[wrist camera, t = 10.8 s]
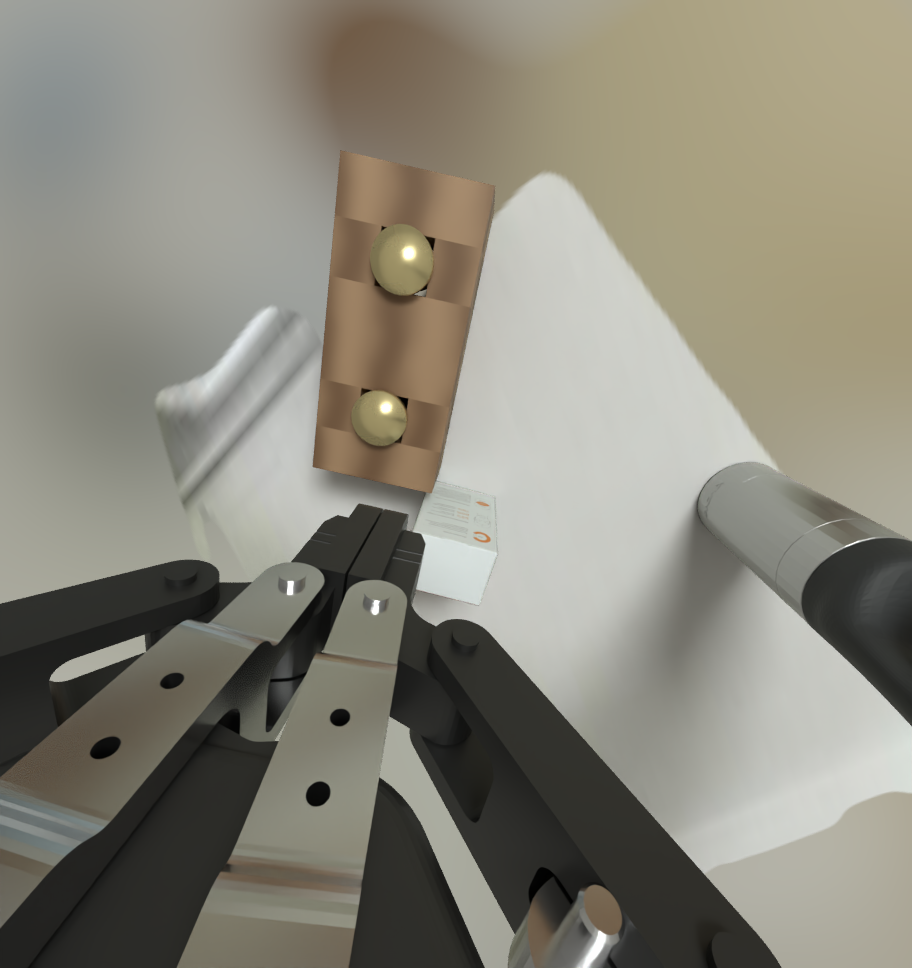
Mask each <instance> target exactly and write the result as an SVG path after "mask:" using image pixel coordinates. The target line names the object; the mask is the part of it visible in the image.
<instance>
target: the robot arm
mask: <svg viewBox="0 0 912 968" xmlns="http://www.w3.org/2000/svg"><path fill="white" fill-rule="evenodd" d="M698 513H699V517H700V519H701V521H702V523H703V524H704V525H705V526H706V528H707V529H708V530H709V531H711V532H712V533H713V534H714V535H715V536H716V537H717V538H718V539H719V540H720V541H721V542H722V543H723V544H724V545H725V546H726V547H727V548H728V549H729V550H730V551H731V552H733V553H734V554H735V555H736V556H737V557H738V558H739V559H740V560H741V561H742V562H743V563H744V564H745V565H746V566H747V567H748V568H749V569H751V570H752V571H753V572H754V573H755V574H756V575H757V576H758V577H759V578H760V579H761V580H762V581H763V582H764V583H765V584H766V585H767V586H768V587H770V588H771V589H772V590H773V591H774V592H775V593H776V594H777V595H778V596H779V597H780V598H781V599H782V600H783V601H784V602H785V603H786V604H788V605H789V606H790V607H791V608H792V609H793V610H794V611H795V612H796V613H797V614H798V615H799V616H800V617H802V618H803V619H804V620H805V621H806V622H807V623H808V624H809V625H810V626H811V627H812V628H813V629H814V630H815V631H816V632H817V633H818V634H819V635H820V636H822V637H823V638H824V639H825V640H826V641H827V642H828V643H829V644H830V645H832V646H833V647H834V648H835V649H836V650H837V651H838V652H839V653H840V654H841V655H842V656H843V657H844V658H845V659H847V660H848V661H849V662H850V663H851V664H852V665H853V666H854V667H855V668H856V669H857V670H858V671H859V672H860V673H861V674H862V675H863V676H864V677H865V678H866V679H867V680H868V681H869V682H870V683H871V684H872V685H873V686H874V687H875V688H876V689H877V690H878V691H879V692H880V693H881V694H882V695H883V696H884V697H885V698H886V699H887V700H888V701H889V702H890V704H891V705H892V706H893V707H894V708H895V709H896V710H897V711H898V712H899V713H900V714H901V715H902V716H903V717H904V718H905V719H906V721H907V722H908V723H909V724H910V725H911V726H912V541H911V540H909V539H908V538H905V537H904V536H902V535H900V534H898V533H896V532H894V531H892V530H890V529H888V528H886V527H884V526H882V525H881V524H878V523H876V522H874V521H872V520H870V519H869V518H867V517H865V516H863V515H861V514H859V513H857V512H855V511H853V510H851V509H849V508H847V507H845V506H843V505H841V504H840V503H838V502H836V501H834V500H832V499H830V498H828V497H826V496H824V495H822V494H820V493H818V492H817V491H815V490H812V489H811V488H809V487H807V486H805V485H803V484H801V483H799V482H797V481H795V480H793V479H792V478H790V477H788V476H786V475H784V474H782V473H780V472H778V471H776V470H774V469H772V468H770V467H768V466H766V465H764V464H760V463H750V462H746V463H740V464H735V465H733V466H730V467H727V468H725V469H724V470H722V471H720V472H718V473H717V474H716V475H715V476H713V477H712V478H711V479H710V480H709V481H708V483H707V484H706V485H705V487H704V488H703V490H702V492H701V494H700V497H699V501H698ZM407 523H408V514H404V513H400V512H395V511H391V510H386V509H384V510H383V509H382V508H377V507H373V506H368V505H364V504H358V505H357V507H356V508H355V510H354V511H353V512H352V514H351V515H350V517H349V518H348V517H343V516H339V515H337V516H335V517H333V518H331V519H329V520H327V521H325V522H324V523H323V524H322V525H321V526H320V527H319V529H318V530H317V532H315V534H314V535H313V536H312V537H311V539H310V540H309V541H308V542H307V543H306V544H305V546H304V547H303V548H302V549H301V551H300V552H299V553H298V554H297V555H296V557H295V558H294V559H293V560H292V561H291V562H289V563H282V564H278V565H275V566H272V567H270V568H268V569H267V570H265V571H264V572H263V573H262V574H261V575H260V576H259V577H258V578H256V579H255V580H254V581H253V582H248V583H220V582H219V571H218V570H217V568H216V567H214V566H213V565H212V564H210V563H207V562H204V561H199V560H179V561H173V562H168V563H164V564H160V565H156V566H152V567H148V568H144V569H140V570H136V571H132V572H128V573H124V574H120V575H116V576H111V577H107V578H103V579H99V580H95V581H91V582H87V583H83V584H79V585H75V586H71V587H67V588H63V589H59V590H55V591H51V592H47V593H43V594H38V595H34V596H30V597H26V598H22V599H18V600H14V601H10V602H6V603H2V604H0V968H485V967H484V965H483V963H482V961H481V959H480V956H479V954H478V952H477V949H476V947H475V945H474V943H473V940H472V938H471V936H470V934H469V931H468V929H467V927H466V925H465V922H464V920H463V918H462V915H461V913H460V911H459V909H458V906H457V904H456V902H455V900H454V897H453V895H452V893H451V890H450V888H449V886H448V884H447V881H446V879H445V877H444V874H443V872H442V870H441V868H440V866H439V863H438V861H437V859H436V856H435V854H434V852H433V849H432V847H431V845H430V843H429V840H428V838H427V836H426V833H425V831H424V829H423V827H422V825H421V823H420V821H419V820H418V818H417V817H416V815H415V813H414V812H413V810H412V809H411V807H410V806H409V805H408V803H407V802H406V801H405V800H404V799H403V797H402V796H401V795H400V794H399V793H398V792H397V791H396V790H395V789H394V788H392V786H390V785H389V784H388V783H386V782H385V781H384V780H382V779H381V778H380V777H379V775H380V769H381V763H382V757H383V751H384V745H385V739H386V732H387V727H388V720H389V716H390V717H392V718H393V719H395V720H397V721H398V722H400V723H402V724H404V725H405V726H407V727H408V728H410V739H411V742H412V744H413V746H414V748H415V750H416V752H417V754H418V756H419V758H420V759H421V761H422V763H423V765H424V767H425V769H426V771H427V772H428V774H429V776H430V778H431V780H432V781H433V783H434V785H435V787H436V789H437V791H438V793H439V795H440V796H441V798H442V800H443V802H444V804H445V806H446V808H447V809H448V811H449V813H450V815H451V817H452V819H453V820H454V822H455V824H456V826H457V828H458V830H459V832H460V833H461V835H462V837H463V839H464V841H465V843H466V845H467V846H468V848H469V850H470V852H471V854H472V856H473V858H474V859H475V861H476V863H477V865H478V867H479V869H480V871H481V872H482V874H483V876H484V878H485V880H486V882H487V884H488V885H489V887H490V889H491V891H492V893H493V895H494V897H495V898H496V900H497V902H498V904H499V906H500V907H501V909H502V911H503V913H504V915H505V917H506V918H507V921H508V922H509V924H510V926H511V928H512V930H513V932H514V933H515V936H514V938H513V941H512V944H511V947H510V952H509V957H508V968H781V966H780V964H779V963H778V961H777V959H776V958H775V957H774V955H773V954H772V952H771V951H770V949H769V948H768V947H767V946H766V944H765V943H764V942H763V940H762V939H761V938H760V937H759V936H758V934H757V933H756V932H755V931H754V930H753V929H752V928H751V926H749V924H748V923H747V922H746V921H745V920H744V919H743V918H742V917H741V915H740V914H739V913H738V912H737V911H736V910H735V908H733V906H732V905H731V904H730V903H729V902H728V901H727V899H725V897H724V896H723V895H722V894H721V893H720V892H719V890H718V889H717V888H716V887H715V886H714V885H713V884H712V883H711V882H710V880H709V879H708V878H707V877H706V876H705V875H704V874H703V873H702V871H701V870H700V869H699V868H698V867H697V866H696V865H695V864H694V862H693V861H692V860H691V859H690V858H689V857H688V856H687V855H686V853H685V852H684V851H683V850H682V849H681V848H680V847H679V846H678V844H677V843H676V842H675V841H674V840H673V839H672V838H671V837H670V835H669V834H668V833H667V832H666V831H665V830H664V829H663V828H662V826H661V825H660V824H659V823H658V822H657V821H656V820H655V819H654V817H653V816H652V815H651V814H650V813H649V812H648V811H647V810H646V809H645V807H644V806H643V805H642V804H641V803H640V802H639V801H638V800H637V798H636V797H635V796H634V795H633V794H632V793H631V792H630V791H629V789H628V788H627V787H626V786H625V785H624V784H623V783H622V782H621V780H620V779H619V778H618V777H617V776H616V775H615V774H614V773H613V771H612V770H611V769H610V768H609V767H608V766H607V765H606V764H605V762H604V761H603V760H602V759H601V758H600V757H599V756H598V755H597V753H596V752H595V751H594V750H593V749H592V748H591V747H590V746H589V745H588V743H587V742H586V741H585V740H584V739H583V738H582V737H581V736H580V734H579V733H578V732H577V731H576V730H575V729H574V728H573V727H572V725H571V724H570V723H569V722H568V721H567V720H566V719H565V718H564V716H563V715H562V714H561V713H560V712H559V711H558V710H557V709H556V707H555V706H554V705H553V704H552V703H551V702H550V701H549V700H548V698H547V697H546V696H545V695H544V694H543V693H542V692H541V691H540V689H539V688H538V687H537V686H536V685H535V684H534V683H533V682H532V681H531V679H530V678H529V677H528V676H527V675H526V674H525V673H524V672H523V670H522V669H521V668H520V667H519V666H518V665H517V664H516V663H515V661H514V660H513V659H512V658H511V657H510V656H509V655H508V654H507V652H506V651H505V650H504V649H503V648H502V647H501V646H500V645H499V643H498V642H497V641H496V640H495V639H494V638H493V637H492V636H491V634H490V633H489V632H488V631H487V630H485V629H484V628H483V627H481V626H479V625H478V624H476V623H473V622H470V621H467V620H462V619H451V620H447V621H444V622H442V623H440V624H439V625H438V626H434V625H432V624H430V623H428V622H426V621H425V620H423V619H422V618H421V617H420V616H418V615H417V613H416V612H415V611H414V609H413V607H412V602H413V598H414V595H415V591H416V588H417V583H418V578H419V574H420V569H421V564H422V559H423V555H424V550H425V545H426V544H425V541H424V539H423V537H422V534H420V533H415V532H411V531H406V528H407ZM144 634H145V644H146V652H145V653H142V654H140V655H136V656H134V657H131V658H128V659H126V660H123V661H120V662H118V663H115V664H112V665H109V666H107V667H104V668H101V669H98V670H96V671H93V672H90V673H88V674H85V675H82V676H79V677H77V678H74V679H72V680H68V681H64V682H52V681H49V679H50V677H51V675H52V674H53V672H54V671H55V670H56V669H57V668H58V667H59V666H61V665H62V664H64V663H65V662H67V661H69V660H71V659H74V658H77V657H80V656H83V655H86V654H88V653H91V652H94V651H97V650H100V649H103V648H106V647H109V646H112V645H115V644H118V643H121V642H124V641H127V640H129V639H132V638H135V637H138V636H141V635H144ZM322 650H324V651H323V653H322ZM287 719H288V720H287ZM286 721H287V722H286ZM285 723H286V725H285V727H284V730H283V732H282V735H281V737H280V739H279V741H275V739H276V737H277V736H278V734H279V732H280V731H281V729H282V727H283V726H284V724H285Z"/></svg>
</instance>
